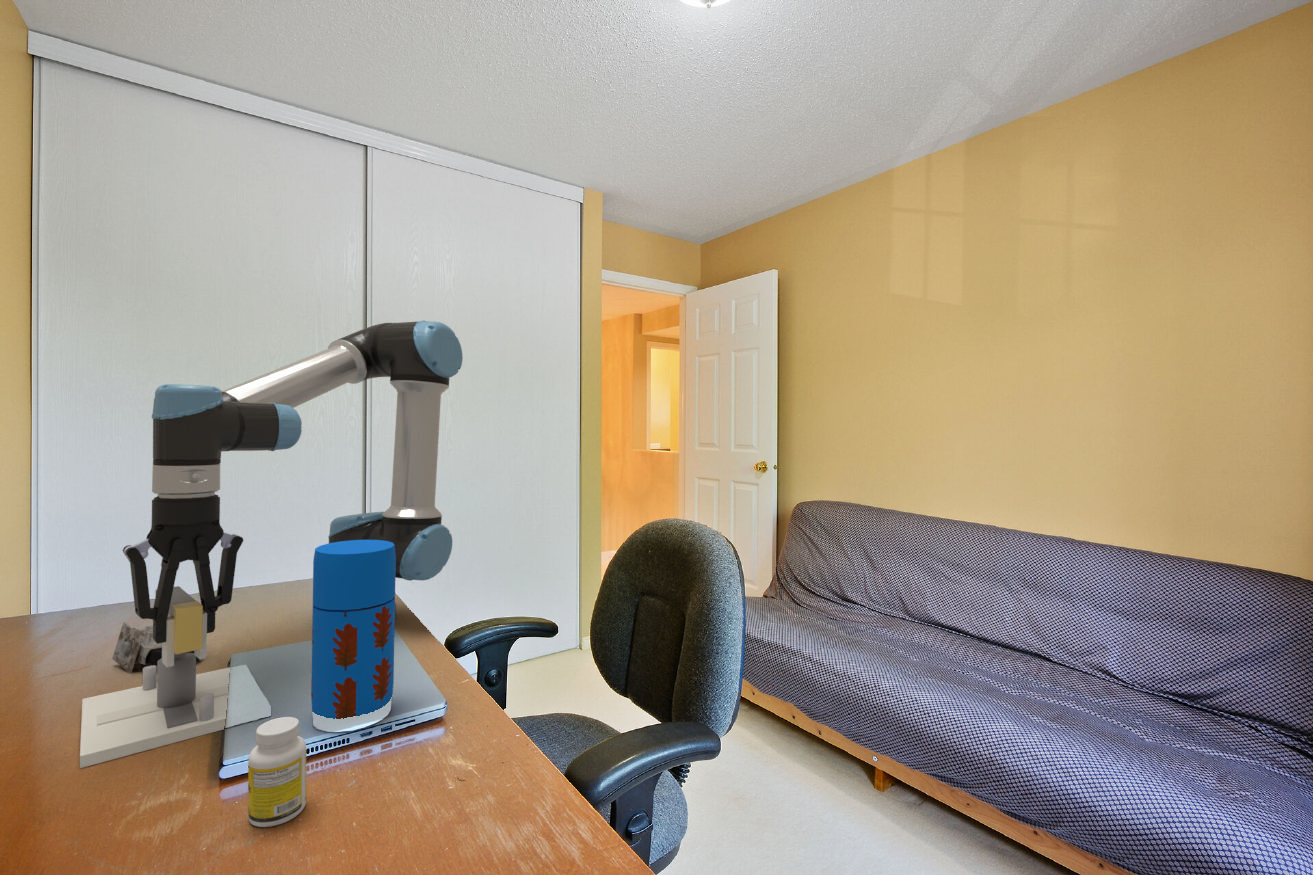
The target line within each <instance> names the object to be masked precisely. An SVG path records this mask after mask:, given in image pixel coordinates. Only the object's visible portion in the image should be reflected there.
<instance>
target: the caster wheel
mask: <svg viewBox="0 0 1313 875" xmlns="http://www.w3.org/2000/svg"><path fill="white" fill-rule="evenodd" d="M122 622H123V623H122V626H121V629H120V633H119V634H118V638H117V642H116V645H115V649H114V652H113V655H112V660H113V661H114V662H115V663H117V664H118V665H119V666H120V667H121V668H122V669H124V671H126V673H128V674H132V672H133V669H134V665H135V664H141V665H145V666H152V665H155V666H157V662H158V660H160V659H161V658H162V643H159V644H157V643H156V642H155V641H154V639H153V624H150V625H142V626H136V627H135V626H133V627H132V626H130V625H129V624H128V623H127V622H125V621H122ZM186 653H194V651H189V652H186ZM199 661H201V660H200V659H199V658H197V657H196V664H197V663H199Z"/></svg>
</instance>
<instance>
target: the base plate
mask: <svg viewBox="0 0 1313 875" xmlns="http://www.w3.org/2000/svg"><path fill="white" fill-rule="evenodd" d="M229 673H230V667H224V668H220V669H216V670H211V671H207V672H202V673H197V663H196V656H195V655H194V653H186V655H185V656H183V657H180V658H174V666H172V667H166V666H165V665H164V664H163V663H162V658H161V659H160V660H158V662H157V666H155V665H146V666H144V667H143V668H142V685H141V686H137V687H131V688H127V689H123V690H122V689H121V690H118V691H113V692H108V693H104V694H99V695H94V696H90V697H85V698H82V706H81V724H80V725H81V726H80V746H79V748H80V751H79V769H83V768H86V767H90V766H95V765H98V764H102V763H105V762H109V761H113V760H117V759H120V758H124V757H127V756H130V755H134V754H138V753H142V752H145V751H149V750H152V749H156V748H160V747H163V746H168V745H171V744H175V743H178V742H182V741H186V740H190V739H193V738H197V737H200V736H205V735H208V734H211V733H215V732H218V731H222V730H225V729H224V726H225V719H226V710H227V698H228V686H229V685H228V684H229Z"/></svg>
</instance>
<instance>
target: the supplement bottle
mask: <svg viewBox="0 0 1313 875" xmlns="http://www.w3.org/2000/svg"><path fill="white" fill-rule="evenodd" d="M299 725H300V721H299V719H298V718H297V717H293V716H282V717H278V718H273V719H271V720H268V721H266V722H262V723H261V724H260V725H259V726H258V727H257V728H256V730H255V731H256V732H255V743H256V746H254V748H253V749H252V750H251V751H250V753H249V755H248V765H247V767H248V770H247V773H248V774H247V776H248V785H247V788H248V789H247V791H248V796H247V797H248V802H247V803H248V808H247V809H248V810H247V812H248V820H249V823H250V824H251V825H253V826H255V827H259V828H269V827H276V826H279V825H282V824H285V823H286V822H289V821H291V820H293V819H294V818H295V817H297V816H299V814H300V813H301V812H302V811H303V810H304V808H305V806H306V804H307V743H306V741H305V739H304V738H303V737H301V736H299V734H300V726H299Z"/></svg>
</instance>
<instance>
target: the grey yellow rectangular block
mask: <svg viewBox="0 0 1313 875" xmlns="http://www.w3.org/2000/svg"><path fill="white" fill-rule="evenodd" d="M156 592H157V589H155V595H154V597H156ZM202 613H203V605H201V602H199V601H198V600H195V598H193V597H192V596H191V595H190V594H189V593H187V591H185V590H184V589H183V588H182V587H181V586H174V588H173V593H172V598H171V603H170V608H169V613H168V615H170V616H171V617H173V618H174V658H180V657H183V656H185V655H186V652H189V651H194V650H199V649H202Z"/></svg>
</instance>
